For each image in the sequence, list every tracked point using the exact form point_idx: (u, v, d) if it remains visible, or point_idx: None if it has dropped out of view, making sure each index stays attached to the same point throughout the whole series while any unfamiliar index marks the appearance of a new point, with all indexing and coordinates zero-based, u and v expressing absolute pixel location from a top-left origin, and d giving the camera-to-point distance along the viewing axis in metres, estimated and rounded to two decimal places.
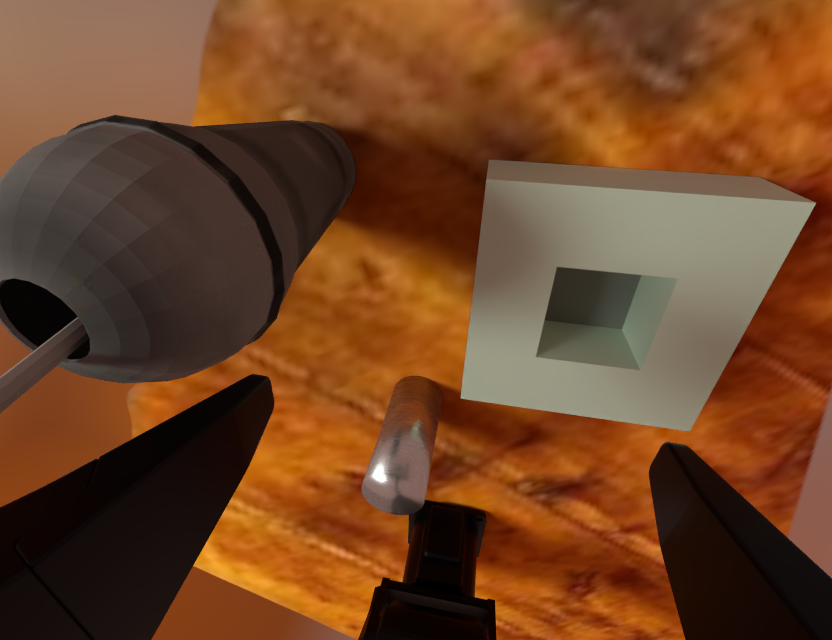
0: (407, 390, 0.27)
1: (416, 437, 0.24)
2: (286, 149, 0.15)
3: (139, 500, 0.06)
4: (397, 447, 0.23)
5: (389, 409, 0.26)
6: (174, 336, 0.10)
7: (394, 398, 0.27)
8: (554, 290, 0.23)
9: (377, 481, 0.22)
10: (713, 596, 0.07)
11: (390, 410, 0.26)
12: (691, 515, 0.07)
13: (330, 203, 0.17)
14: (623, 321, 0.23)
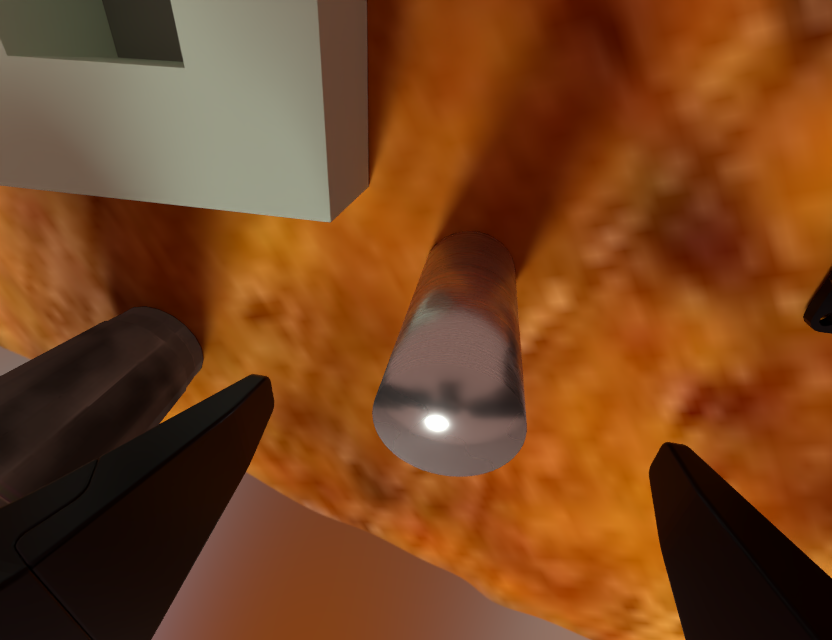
0: None
1: (404, 322, 0.12)
2: None
3: (139, 500, 0.06)
4: None
5: None
6: None
7: None
8: None
9: (404, 443, 0.10)
10: (713, 596, 0.07)
11: None
12: (691, 515, 0.07)
13: (49, 365, 0.15)
14: None
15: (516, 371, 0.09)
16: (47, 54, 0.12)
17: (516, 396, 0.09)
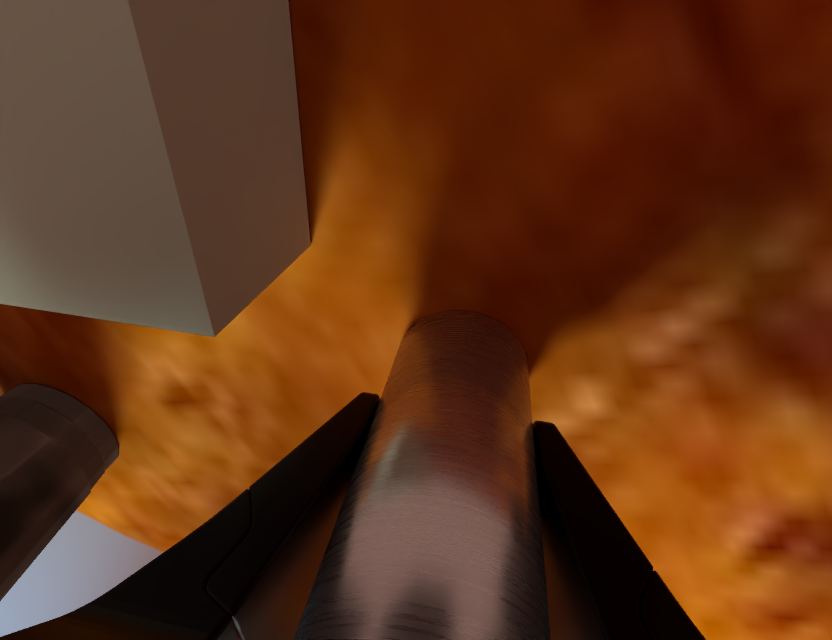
0: None
1: (342, 511, 0.07)
2: None
3: (300, 534, 0.06)
4: None
5: None
6: None
7: None
8: None
9: None
10: (546, 562, 0.07)
11: None
12: (539, 487, 0.08)
13: None
14: None
15: None
16: None
17: None
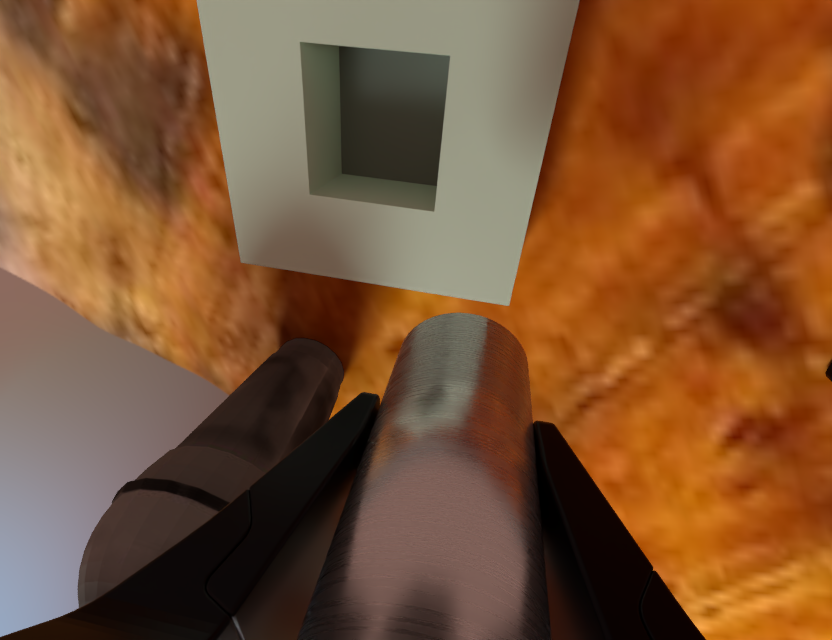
0: None
1: (343, 514, 0.07)
2: (211, 413, 0.20)
3: (300, 534, 0.06)
4: None
5: None
6: None
7: None
8: (405, 161, 0.18)
9: None
10: (546, 562, 0.07)
11: None
12: (539, 487, 0.08)
13: (269, 388, 0.21)
14: (448, 58, 0.16)
15: None
16: (320, 186, 0.17)
17: None
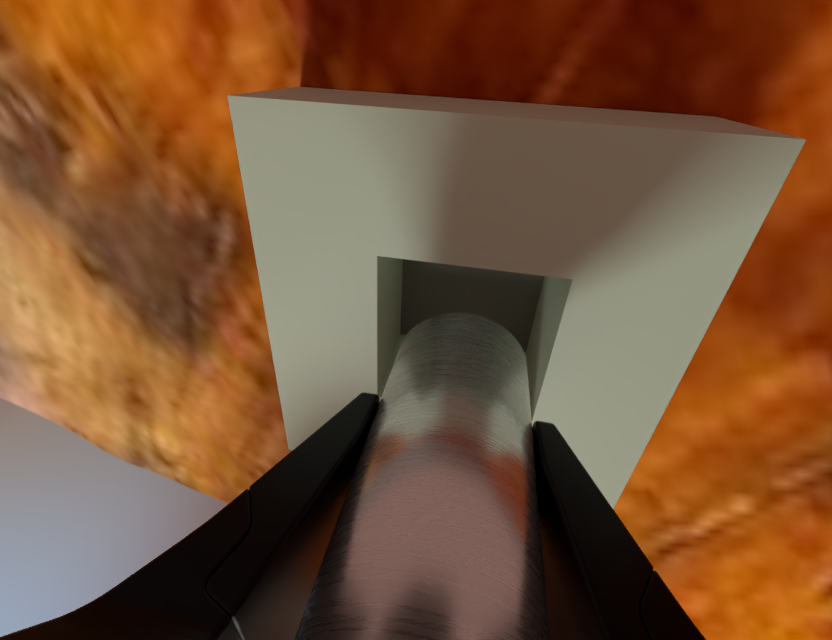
0: None
1: (341, 514, 0.07)
2: None
3: (300, 534, 0.06)
4: None
5: None
6: None
7: None
8: None
9: None
10: (546, 562, 0.07)
11: None
12: (539, 487, 0.08)
13: None
14: None
15: None
16: (385, 373, 0.14)
17: None
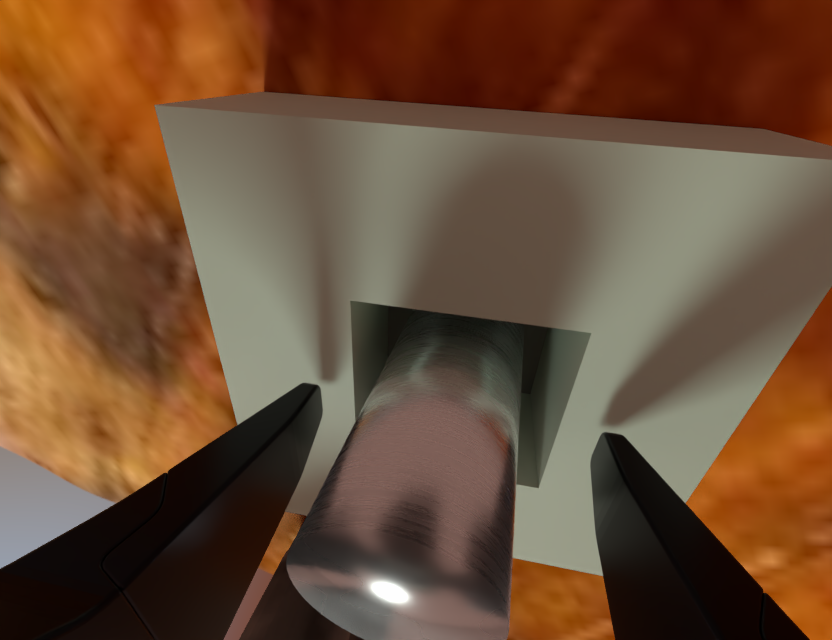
0: None
1: (360, 414, 0.09)
2: None
3: (213, 516, 0.06)
4: None
5: None
6: None
7: None
8: None
9: (335, 608, 0.07)
10: (633, 580, 0.07)
11: None
12: (618, 502, 0.08)
13: (297, 633, 0.16)
14: None
15: (499, 526, 0.06)
16: None
17: (492, 586, 0.06)
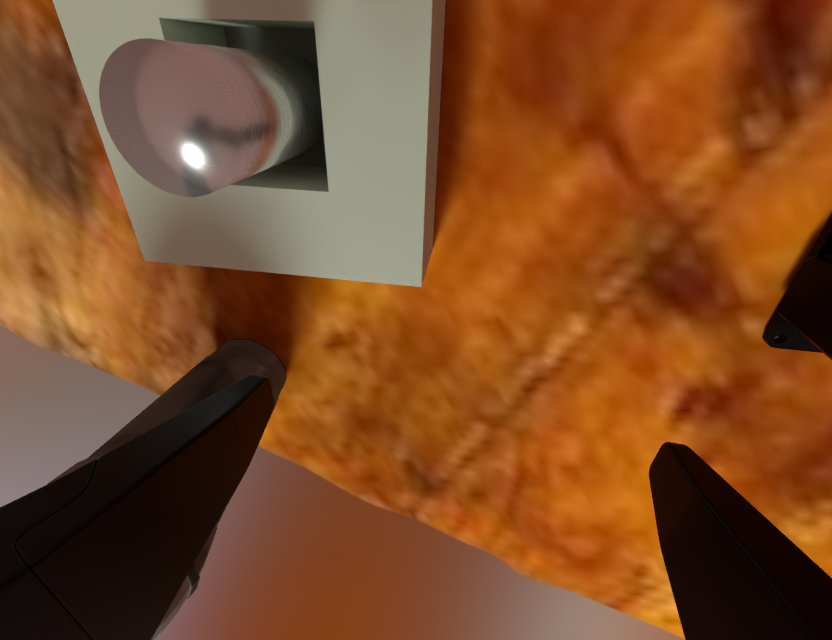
0: None
1: None
2: None
3: (139, 500, 0.06)
4: None
5: None
6: None
7: None
8: None
9: (143, 157, 0.11)
10: (713, 596, 0.07)
11: None
12: (691, 515, 0.07)
13: (193, 391, 0.20)
14: None
15: (237, 78, 0.10)
16: None
17: (215, 76, 0.09)
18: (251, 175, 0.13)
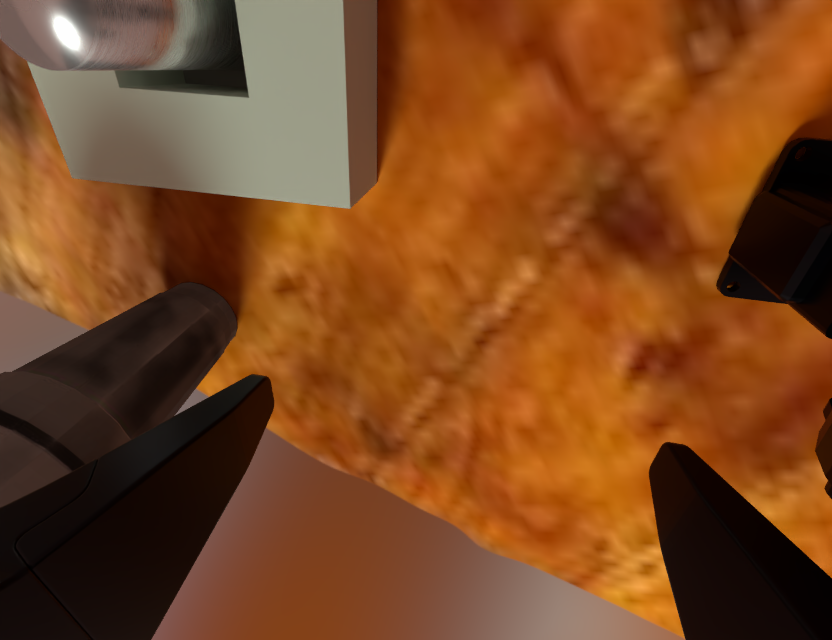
0: None
1: None
2: None
3: (139, 500, 0.06)
4: None
5: None
6: None
7: None
8: None
9: (4, 22, 0.10)
10: (713, 596, 0.07)
11: None
12: (691, 515, 0.07)
13: (126, 322, 0.19)
14: None
15: None
16: (142, 84, 0.16)
17: None
18: (142, 66, 0.12)
